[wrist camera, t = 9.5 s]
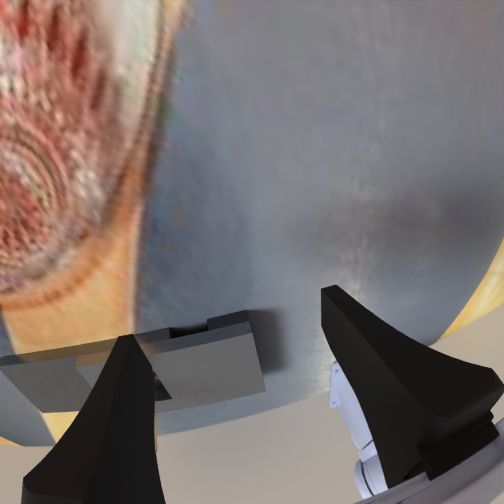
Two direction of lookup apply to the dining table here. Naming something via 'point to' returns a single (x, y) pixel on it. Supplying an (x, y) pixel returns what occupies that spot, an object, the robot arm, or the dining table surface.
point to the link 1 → (62, 373)
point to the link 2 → (197, 365)
